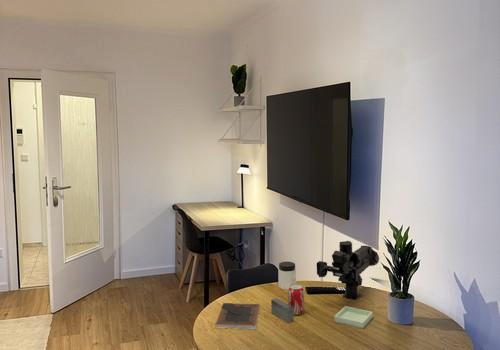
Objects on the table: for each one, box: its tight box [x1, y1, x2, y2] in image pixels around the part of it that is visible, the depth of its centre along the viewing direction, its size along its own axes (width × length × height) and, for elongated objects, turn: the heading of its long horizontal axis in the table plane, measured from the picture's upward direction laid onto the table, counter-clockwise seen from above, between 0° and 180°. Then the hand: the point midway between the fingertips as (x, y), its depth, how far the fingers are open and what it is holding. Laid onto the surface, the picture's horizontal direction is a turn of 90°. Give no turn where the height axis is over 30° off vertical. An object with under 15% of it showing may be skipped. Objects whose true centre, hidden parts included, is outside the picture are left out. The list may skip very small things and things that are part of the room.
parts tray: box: [333, 305, 374, 330], centre depth 193 cm, size 12×12×2 cm
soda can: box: [287, 283, 305, 316], centre depth 201 cm, size 7×7×12 cm
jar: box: [277, 261, 297, 291], centre depth 231 cm, size 9×8×12 cm
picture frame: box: [214, 302, 260, 331], centre depth 198 cm, size 16×2×22 cm
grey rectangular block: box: [270, 297, 295, 323], centre depth 197 cm, size 3×12×6 cm, turn 32°
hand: (328, 277), depth 196 cm, fingers open, 9 cm apart
